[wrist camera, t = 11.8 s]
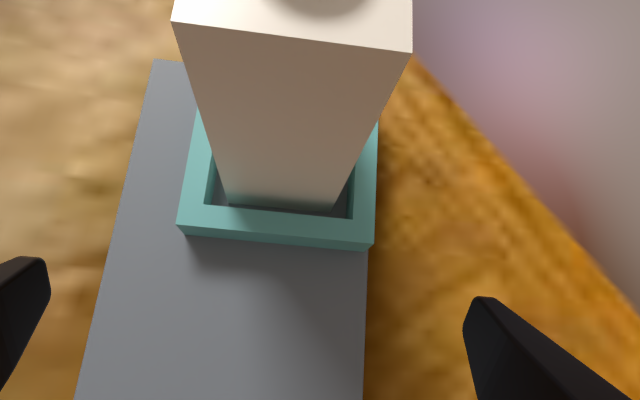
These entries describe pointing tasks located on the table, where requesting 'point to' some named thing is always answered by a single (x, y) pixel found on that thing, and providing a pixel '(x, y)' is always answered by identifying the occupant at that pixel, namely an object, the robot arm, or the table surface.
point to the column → (291, 89)
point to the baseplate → (225, 276)
